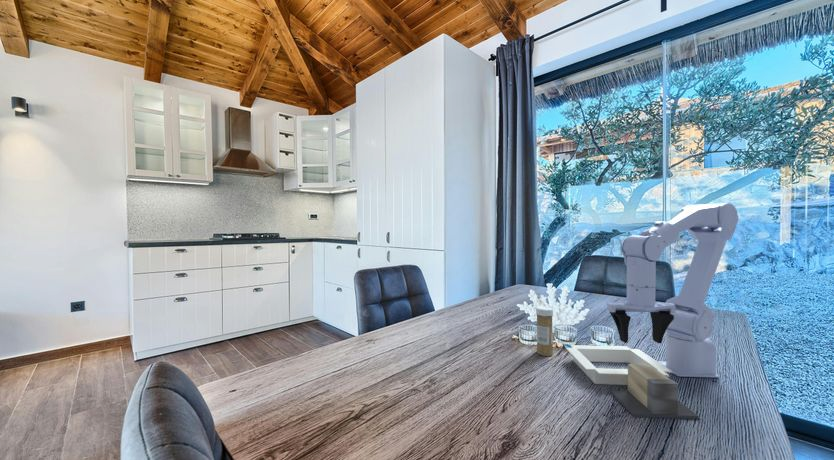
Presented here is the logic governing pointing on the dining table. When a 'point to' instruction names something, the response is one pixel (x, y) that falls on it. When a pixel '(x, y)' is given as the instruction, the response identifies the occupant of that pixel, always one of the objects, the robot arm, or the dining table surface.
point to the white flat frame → (610, 354)
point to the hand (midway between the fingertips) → (640, 341)
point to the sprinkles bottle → (544, 330)
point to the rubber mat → (641, 411)
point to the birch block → (653, 389)
